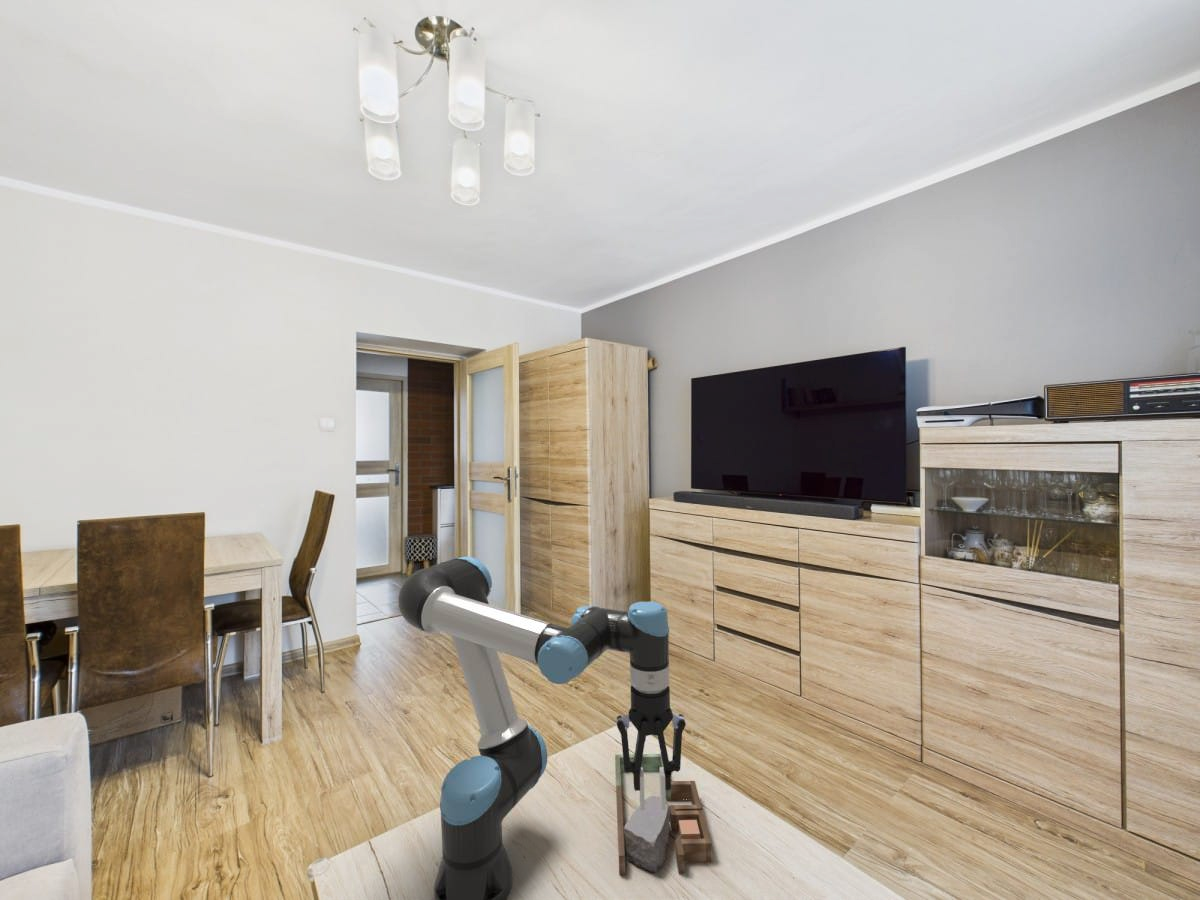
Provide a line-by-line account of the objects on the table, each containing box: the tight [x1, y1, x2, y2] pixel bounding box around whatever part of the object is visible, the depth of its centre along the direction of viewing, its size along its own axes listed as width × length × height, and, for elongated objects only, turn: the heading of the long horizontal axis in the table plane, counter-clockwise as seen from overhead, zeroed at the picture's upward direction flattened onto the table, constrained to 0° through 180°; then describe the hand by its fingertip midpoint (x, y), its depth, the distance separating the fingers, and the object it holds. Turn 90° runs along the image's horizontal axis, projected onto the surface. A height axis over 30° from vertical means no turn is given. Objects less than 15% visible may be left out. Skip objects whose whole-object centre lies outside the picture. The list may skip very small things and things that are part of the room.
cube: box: [678, 820, 700, 839], centre depth 111 cm, size 4×4×4 cm
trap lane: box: [614, 753, 713, 876], centre depth 120 cm, size 20×33×4 cm, turn 0°
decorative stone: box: [623, 795, 671, 873], centre depth 111 cm, size 15×7×10 cm
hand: (652, 804), depth 98 cm, fingers open, 3 cm apart
